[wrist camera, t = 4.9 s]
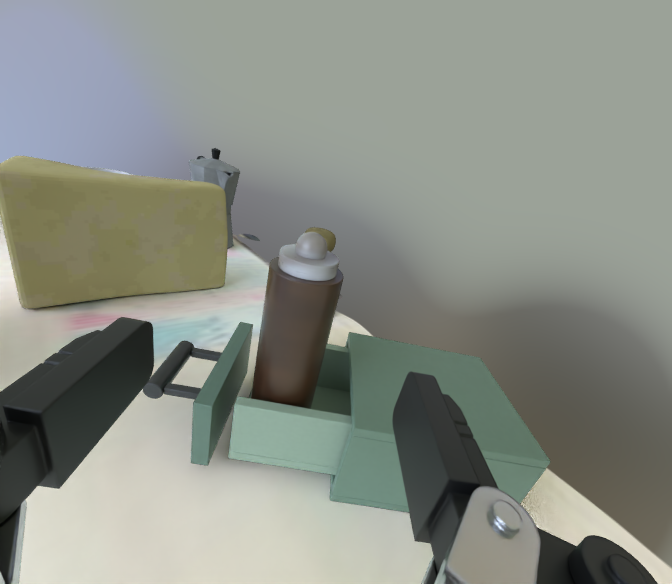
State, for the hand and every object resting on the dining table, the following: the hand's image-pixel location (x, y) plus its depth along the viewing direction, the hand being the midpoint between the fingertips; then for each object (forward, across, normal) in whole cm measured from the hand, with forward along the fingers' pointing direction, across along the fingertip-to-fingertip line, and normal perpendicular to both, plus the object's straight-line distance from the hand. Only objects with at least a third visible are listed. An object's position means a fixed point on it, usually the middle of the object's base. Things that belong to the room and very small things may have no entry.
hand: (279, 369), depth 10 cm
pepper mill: (+11, 0, +14) cm, 18 cm away
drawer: (+12, +1, +15) cm, 19 cm away
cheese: (+31, +22, +16) cm, 41 cm away
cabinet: (+12, -12, +16) cm, 23 cm away
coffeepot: (+56, +22, +16) cm, 62 cm away
